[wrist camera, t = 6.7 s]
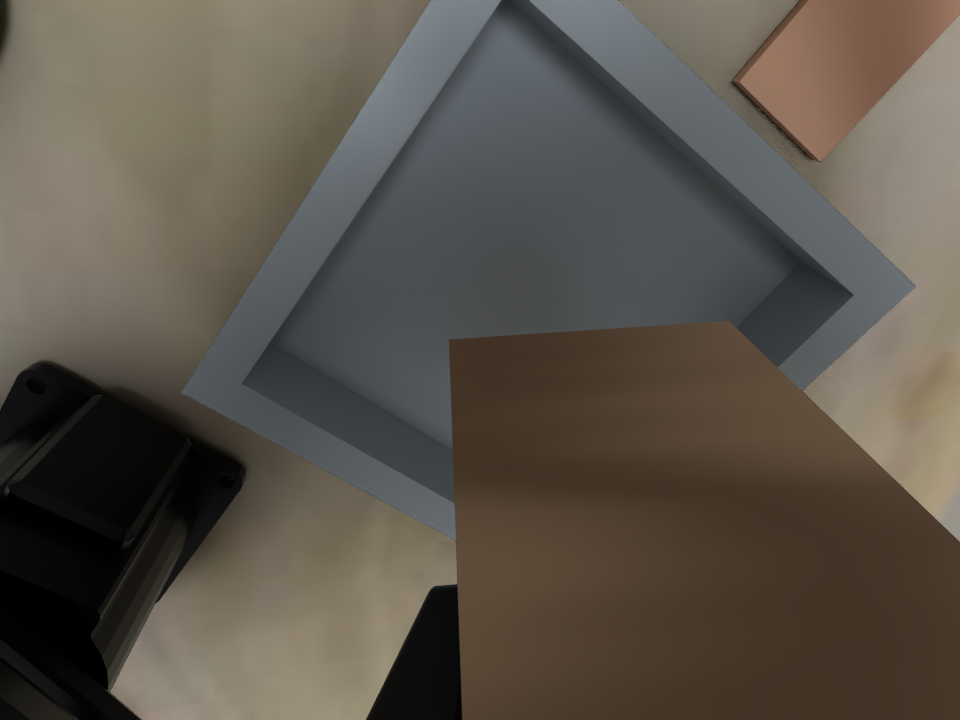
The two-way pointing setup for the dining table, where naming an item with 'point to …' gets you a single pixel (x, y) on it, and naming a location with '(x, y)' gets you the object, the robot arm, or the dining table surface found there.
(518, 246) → the tray
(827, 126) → the crank base
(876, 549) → the block
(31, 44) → the dining table surface
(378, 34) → the dining table surface
